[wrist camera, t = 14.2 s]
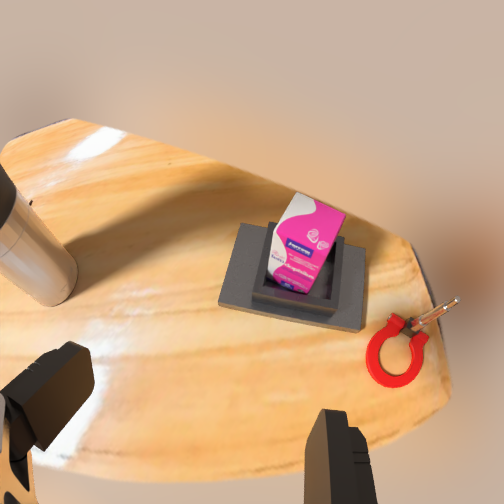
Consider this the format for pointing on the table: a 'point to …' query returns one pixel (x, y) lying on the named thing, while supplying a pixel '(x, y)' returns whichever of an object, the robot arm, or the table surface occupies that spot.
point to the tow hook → (416, 344)
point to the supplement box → (302, 243)
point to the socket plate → (285, 300)
